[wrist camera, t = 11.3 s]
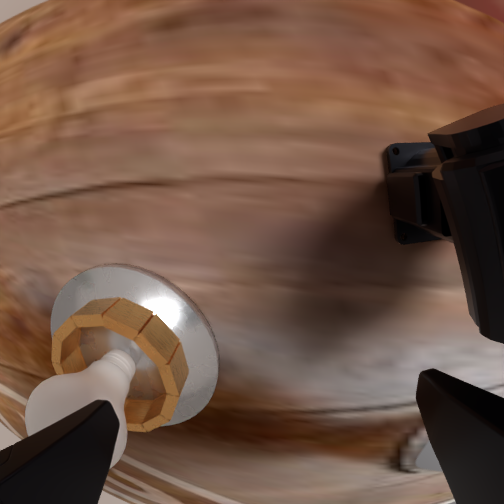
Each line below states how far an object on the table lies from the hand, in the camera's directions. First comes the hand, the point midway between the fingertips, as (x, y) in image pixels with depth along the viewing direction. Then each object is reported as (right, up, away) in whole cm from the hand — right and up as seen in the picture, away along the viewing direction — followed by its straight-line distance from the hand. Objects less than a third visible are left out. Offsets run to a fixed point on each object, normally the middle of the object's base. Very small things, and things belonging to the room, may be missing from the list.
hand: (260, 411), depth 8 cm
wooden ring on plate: (-9, -3, +14) cm, 18 cm away
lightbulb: (-10, -4, +14) cm, 17 cm away
